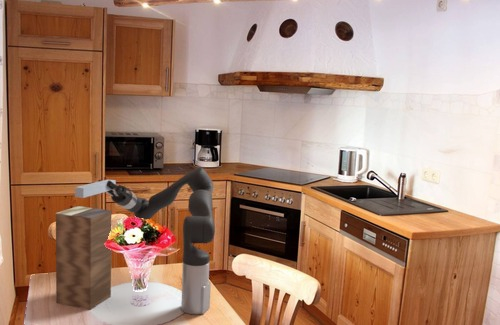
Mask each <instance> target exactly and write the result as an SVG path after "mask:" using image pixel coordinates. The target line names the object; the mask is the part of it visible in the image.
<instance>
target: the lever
mask: <svg viewBox="0 0 500 325" xmlns="http://www.w3.org/2000/svg"><path fill="white" fill-rule="evenodd" d="M98 181H99V180H98ZM98 181H96V182H92V183H87V184H83V185H79V186H76V187H74V188H75V189H74V197H75V198H81V199H86V198H88V197H91V196H95V195H98V194H103V193H106V192H107V191H110V190H112V189H111V188H109V187H108V186H107V182H108V181H111V182H112V183H114V184H117V183H116V181H117V180H116V179H104V180H103V179H102V181H99V182H98Z"/></svg>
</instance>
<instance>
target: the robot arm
mask: <svg viewBox="0 0 500 325" xmlns="http://www.w3.org/2000/svg"><path fill="white" fill-rule="evenodd" d="M99 181H103V179H98V180H97V182H99ZM185 185H188V186H189V188H190V189H191V191H192V193H191V194H190V195H189V199H188V206H187V207H188V208H187V209H188V212H189V214H190V215H188V216H185V218H184V219H183V223H182V241H183V242H182V246H183V247H182V248H183V250H182V276H181V277H182V278H181V280H182V282H181V303H180V304H181V308H180V309H181V311H182V312H183V313H185V314H190V315H204V314H206V312H207V311H208V310H209V309H210V308H211V286H212V282H211V281H209V280H210V279H209V278H210V254H209V253H208V252H207V251H205V250H203V249H200V248H198V247H197V246H195V245H194V244H210V243H211V242H213V240H214V238H215V235H216V226H215V220H214V215H213V207H214V206H213V190H214V182H213V180H212V178H211V177H210V176H209V175H208V173H207V171H205V169H204V168H203V167H201V166H200V167H196V168H194V169H192V170H190V171H189V172H188V173H186V174H185V175H183V176H181V177H180V178H178V179H177V180H176V181H174V182H173V183H172V184H170V185H169V186H168V187H166V188H165V189H162V190H160V191H159V192H157V193H155V194H153V195H151V196H150V197H149V199H146V198H145V197H140V196H138V195H136V194H135V193H134V192H133V191H131V189H130V188H127V187H126V186H125V185H121V184H117V183H116V184H114V183H112V182H111V181H108V182H107V186H108V187H109V188H111V189H112V190H110V191H107V192H105V193H106V194H108V196H110V197H111V200H112V201H113V202H114V203H116V205H119V206H120V207H121V208H123V209H125V210H126V211H128V212H130V213H134V215H133V216H134V217H135V216H136V217H139V218H144V219H149V220H151V218H152V217H154V216H155V215H156V214H157V213H158V212H159V211H161V210H163V209H164V208H166V207H168V206H170V205H172V204H173V202H175V200H176V198H177V197H178V194H179V192H180V190H181V189H182V188H183V187H184V186H185Z"/></svg>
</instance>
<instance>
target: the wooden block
mask: <svg viewBox="0 0 500 325" xmlns="http://www.w3.org/2000/svg"><path fill="white" fill-rule="evenodd" d="M110 231H111V232H112V210H111V209H102V208H93V207H88V206H79V205H78V206H74V207H71V208H68V209H64V210H61V211H59V212H58V211H57V212H56V213H55V274H56V275H55V278H56V279H55V281H56V282H55V285H56V287H55V291H56V292H55V295H56V297H55V298H56V304H60V305H61V304H62V305H65V306H71V307H74V308H80V309H84V310H92V309H94V308H96V307H97V306H98V305H100V304H101V303H103V302H105V301H107V300H108V299H110V298H111V297H112V249H111V250H110V249H108V248H106V247H105V245H104V243H105V242H106V241H107V239H108V236H109V233H110Z"/></svg>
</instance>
